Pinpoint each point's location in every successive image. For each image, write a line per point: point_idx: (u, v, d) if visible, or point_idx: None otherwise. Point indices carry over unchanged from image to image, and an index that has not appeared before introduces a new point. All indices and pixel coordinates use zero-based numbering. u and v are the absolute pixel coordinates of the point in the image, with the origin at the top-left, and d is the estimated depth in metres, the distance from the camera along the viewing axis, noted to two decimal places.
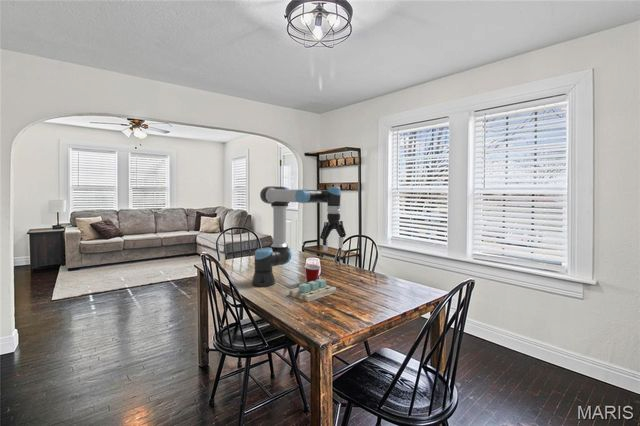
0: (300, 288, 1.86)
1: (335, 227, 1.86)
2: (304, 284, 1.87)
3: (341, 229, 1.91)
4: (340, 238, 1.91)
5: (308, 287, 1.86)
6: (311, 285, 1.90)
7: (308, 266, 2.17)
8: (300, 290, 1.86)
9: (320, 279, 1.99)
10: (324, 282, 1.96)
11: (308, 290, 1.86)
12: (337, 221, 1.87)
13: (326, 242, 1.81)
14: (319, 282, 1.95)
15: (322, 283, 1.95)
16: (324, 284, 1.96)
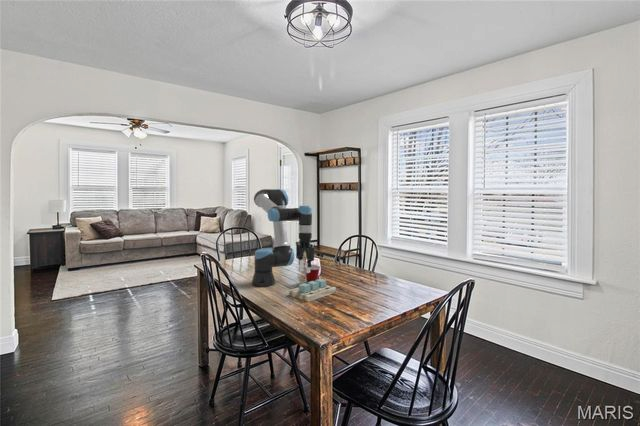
0: (300, 288, 1.86)
1: None
2: (304, 284, 1.87)
3: None
4: None
5: (308, 287, 1.86)
6: (311, 285, 1.90)
7: None
8: (300, 290, 1.86)
9: (320, 279, 1.99)
10: (324, 282, 1.96)
11: (308, 290, 1.86)
12: (307, 240, 1.83)
13: None
14: (319, 282, 1.95)
15: (322, 283, 1.95)
16: (324, 284, 1.96)
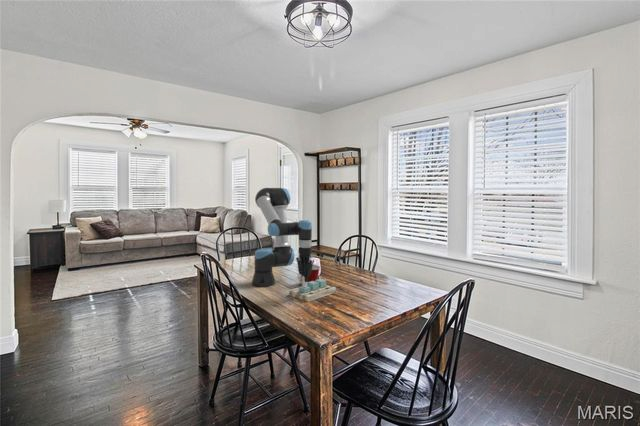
0: (300, 290, 1.86)
1: (304, 261, 1.85)
2: None
3: None
4: None
5: (308, 289, 1.86)
6: (311, 285, 1.90)
7: None
8: None
9: (320, 279, 1.99)
10: (324, 282, 1.96)
11: (308, 292, 1.86)
12: (307, 255, 1.83)
13: None
14: (319, 282, 1.95)
15: (322, 283, 1.95)
16: (324, 284, 1.96)
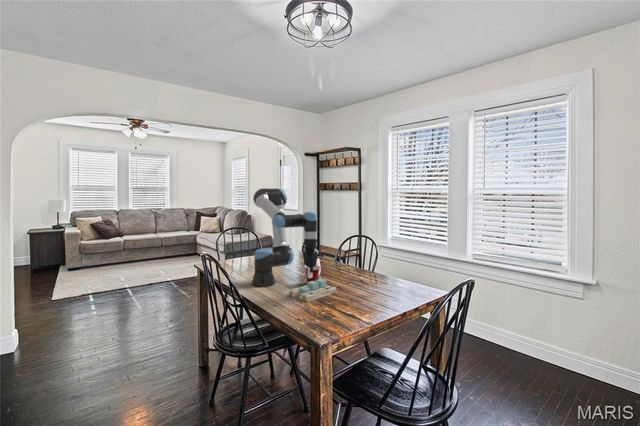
0: (300, 291, 1.86)
1: None
2: (304, 287, 1.88)
3: None
4: None
5: (308, 290, 1.86)
6: (311, 285, 1.90)
7: None
8: None
9: (320, 279, 1.99)
10: (324, 282, 1.96)
11: None
12: (312, 246, 1.86)
13: (307, 269, 1.89)
14: (319, 282, 1.95)
15: (322, 283, 1.95)
16: (324, 284, 1.96)
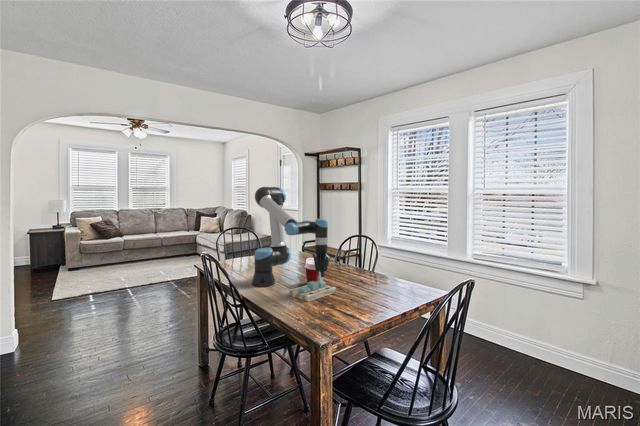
0: (300, 291, 1.86)
1: None
2: (304, 287, 1.88)
3: None
4: None
5: (308, 290, 1.86)
6: (311, 285, 1.90)
7: (308, 266, 2.17)
8: None
9: None
10: (324, 284, 1.96)
11: None
12: (323, 252, 1.93)
13: (319, 274, 1.97)
14: (319, 284, 1.95)
15: (322, 285, 1.95)
16: (324, 286, 1.96)
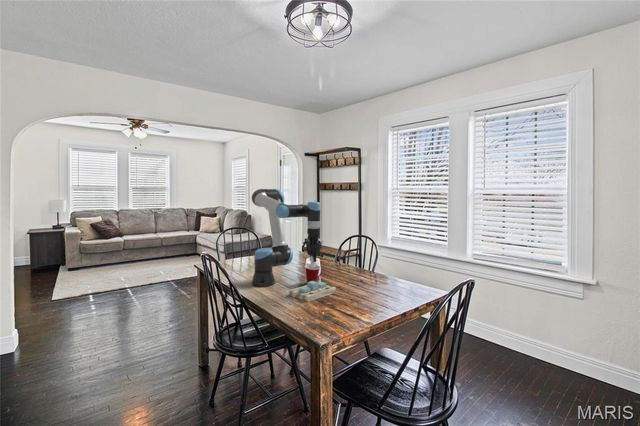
0: (300, 291, 1.86)
1: None
2: (304, 287, 1.88)
3: None
4: None
5: (308, 290, 1.86)
6: (311, 285, 1.90)
7: (308, 266, 2.17)
8: None
9: (320, 282, 1.99)
10: (324, 285, 1.96)
11: None
12: (315, 236, 1.87)
13: (311, 259, 1.91)
14: (319, 285, 1.95)
15: (322, 286, 1.95)
16: (324, 287, 1.96)
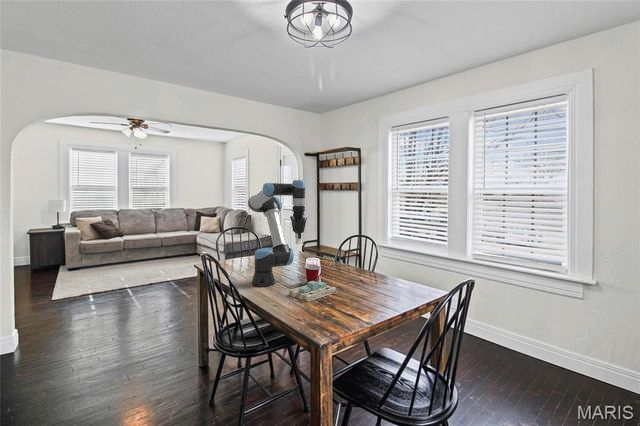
0: (300, 291, 1.86)
1: None
2: (304, 287, 1.88)
3: None
4: None
5: (308, 290, 1.86)
6: (311, 285, 1.90)
7: (308, 266, 2.17)
8: None
9: (320, 282, 1.99)
10: (324, 285, 1.96)
11: None
12: (300, 213, 1.93)
13: (296, 235, 1.96)
14: (319, 285, 1.95)
15: (322, 286, 1.95)
16: (324, 287, 1.96)
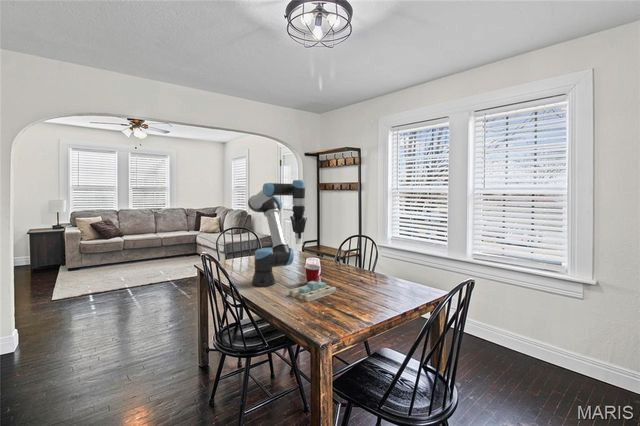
0: (300, 291, 1.86)
1: None
2: (304, 287, 1.88)
3: None
4: None
5: (308, 290, 1.86)
6: (311, 285, 1.90)
7: (308, 266, 2.17)
8: None
9: (320, 282, 1.99)
10: (324, 285, 1.96)
11: None
12: (300, 213, 1.93)
13: (296, 235, 1.96)
14: (319, 285, 1.95)
15: (322, 286, 1.95)
16: (324, 287, 1.96)
